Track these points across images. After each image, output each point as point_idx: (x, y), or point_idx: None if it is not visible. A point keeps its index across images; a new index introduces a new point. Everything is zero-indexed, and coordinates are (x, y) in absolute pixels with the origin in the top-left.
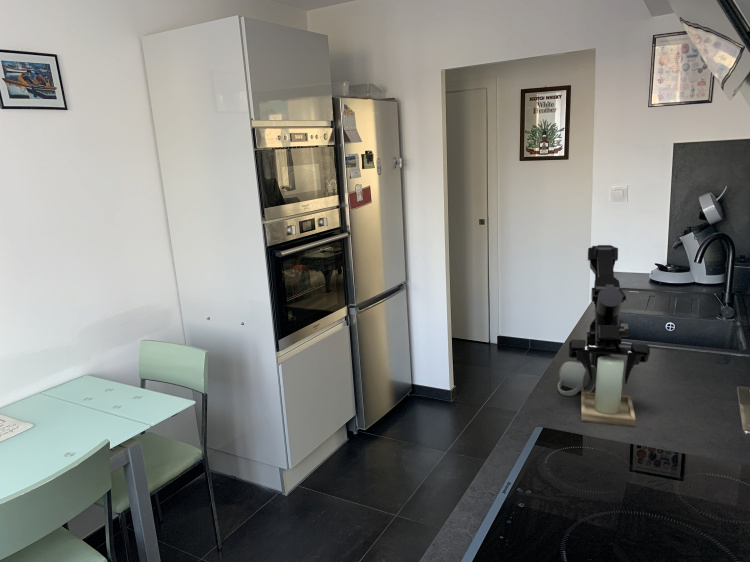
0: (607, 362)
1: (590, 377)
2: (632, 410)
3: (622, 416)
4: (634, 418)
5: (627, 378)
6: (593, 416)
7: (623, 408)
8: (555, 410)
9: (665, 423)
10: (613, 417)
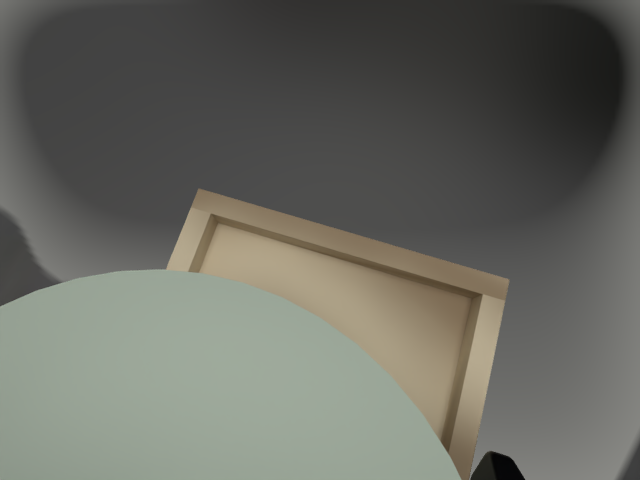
0: (299, 430)
1: (517, 477)
2: None
3: None
4: (196, 208)
5: None
6: (434, 260)
7: None
8: (633, 462)
9: (23, 239)
10: (319, 225)
